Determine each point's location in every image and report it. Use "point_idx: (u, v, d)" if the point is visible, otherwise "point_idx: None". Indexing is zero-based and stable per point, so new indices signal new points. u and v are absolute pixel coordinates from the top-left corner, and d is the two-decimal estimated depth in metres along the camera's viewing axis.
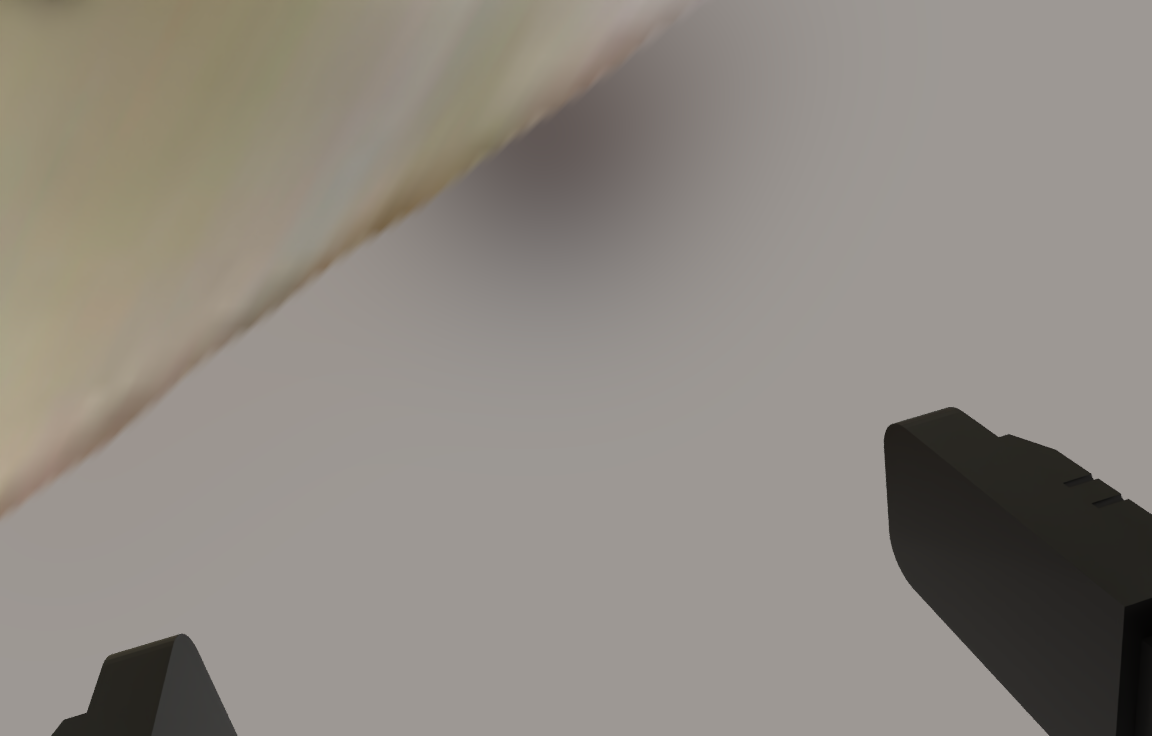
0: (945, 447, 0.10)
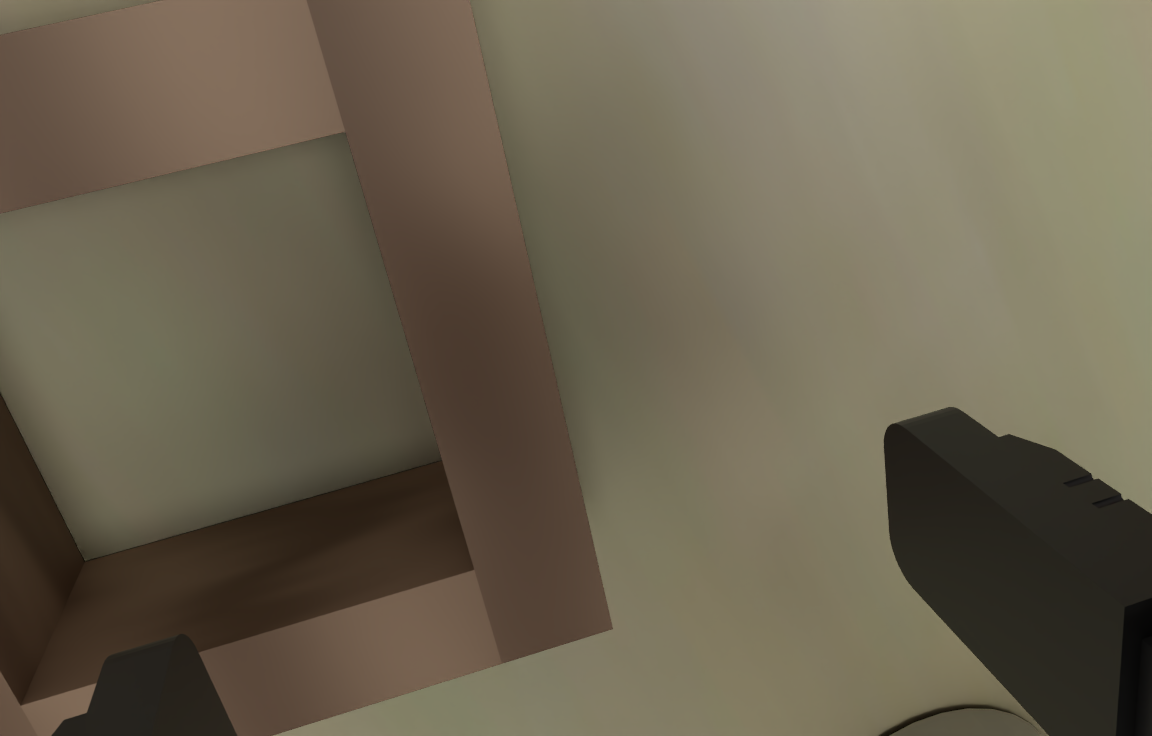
0: (945, 447, 0.10)
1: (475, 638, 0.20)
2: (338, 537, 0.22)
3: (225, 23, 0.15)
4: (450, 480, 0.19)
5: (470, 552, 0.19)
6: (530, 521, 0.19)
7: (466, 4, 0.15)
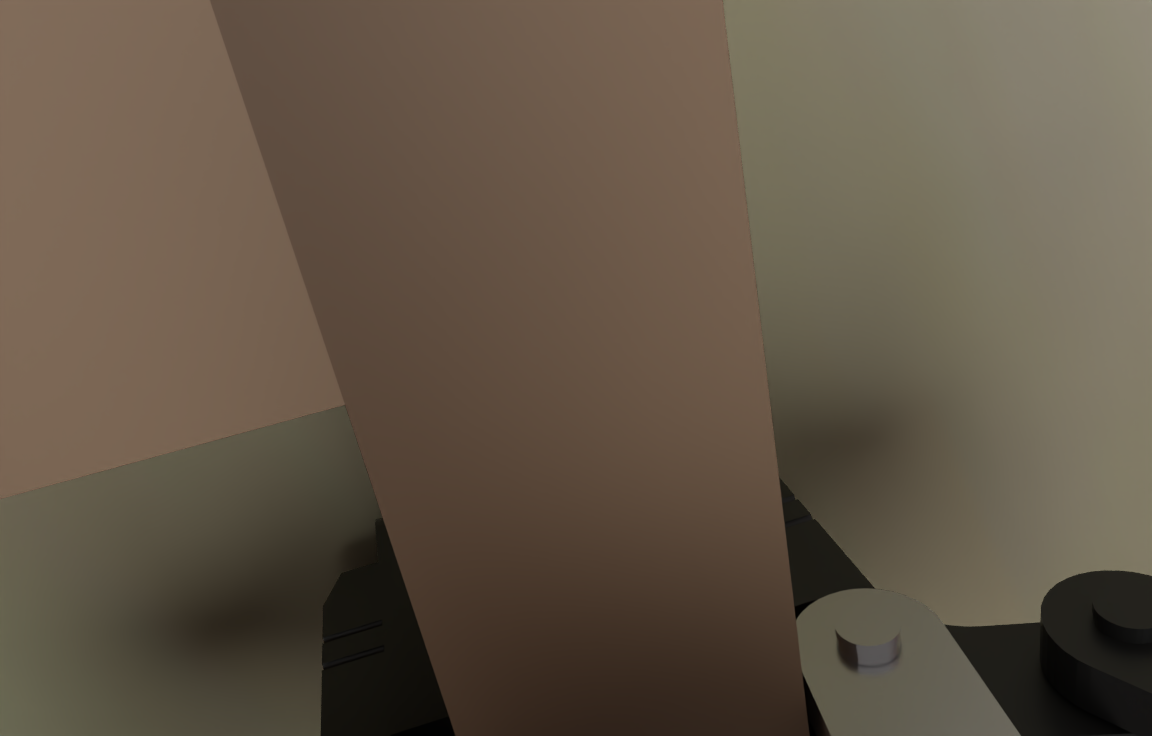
0: None
1: None
2: None
3: None
4: None
5: None
6: None
7: (713, 34, 0.05)
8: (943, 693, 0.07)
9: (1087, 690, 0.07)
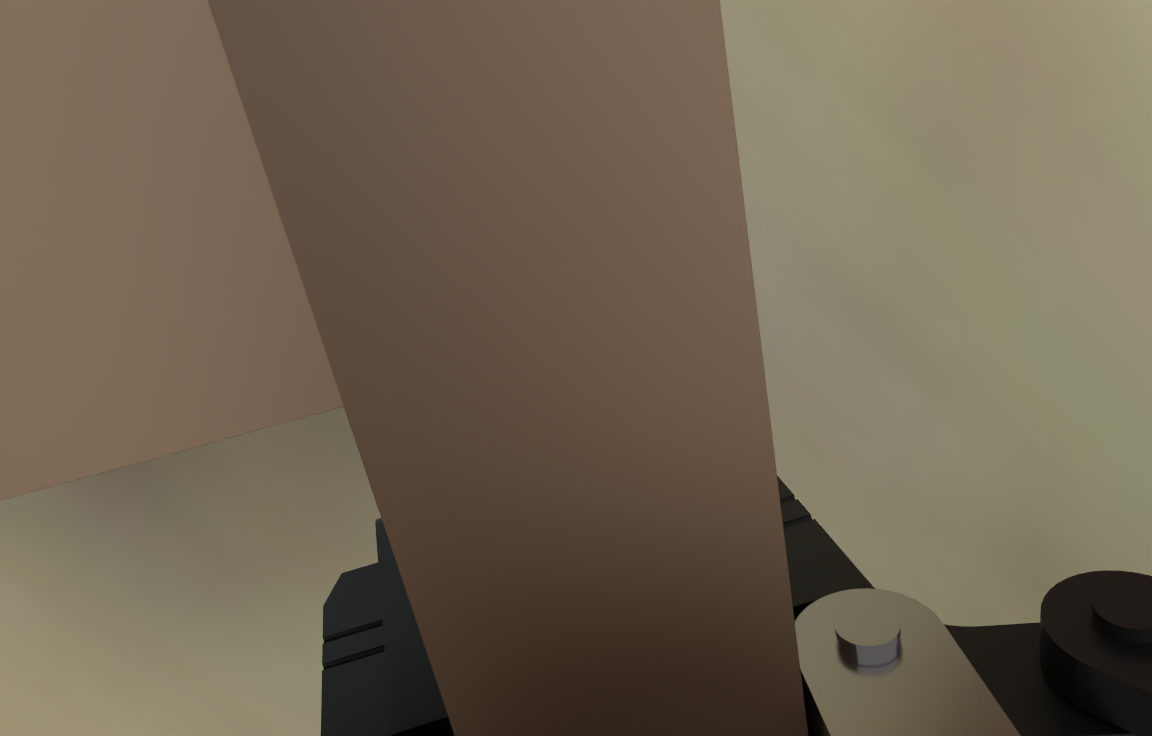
0: None
1: None
2: None
3: None
4: None
5: None
6: None
7: (710, 37, 0.05)
8: (942, 693, 0.07)
9: (1087, 690, 0.07)
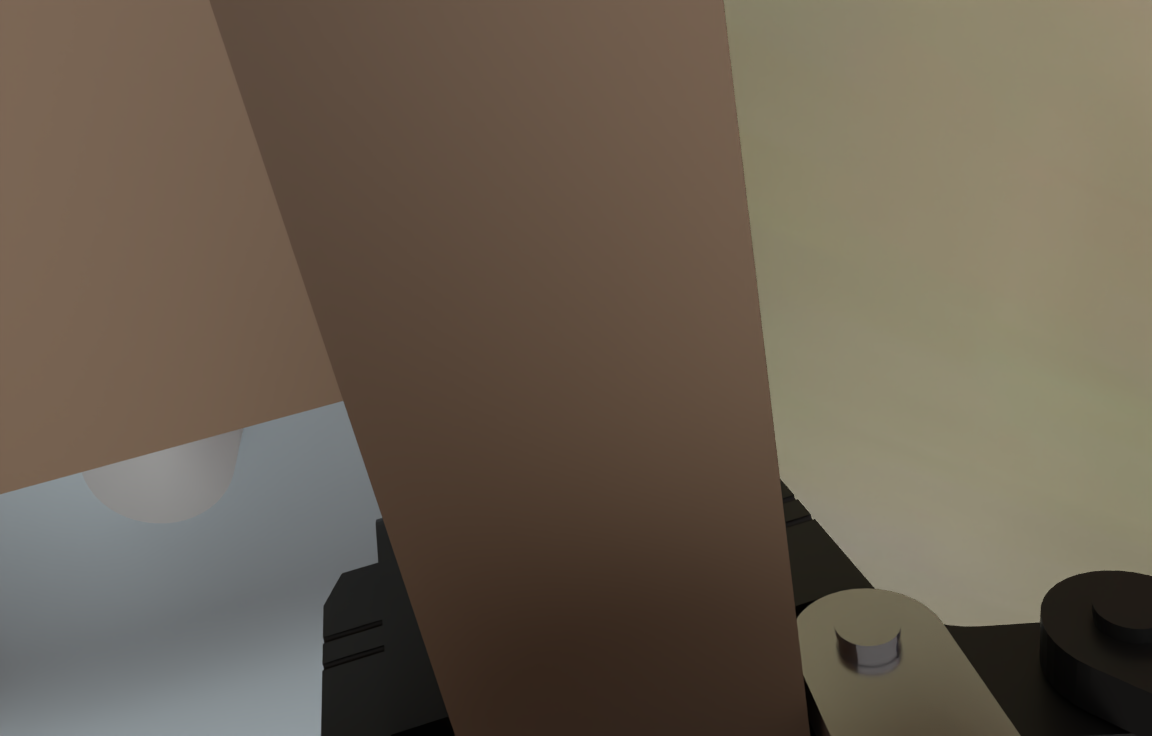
0: None
1: None
2: None
3: None
4: None
5: None
6: None
7: (713, 28, 0.05)
8: (943, 693, 0.07)
9: (1088, 690, 0.07)
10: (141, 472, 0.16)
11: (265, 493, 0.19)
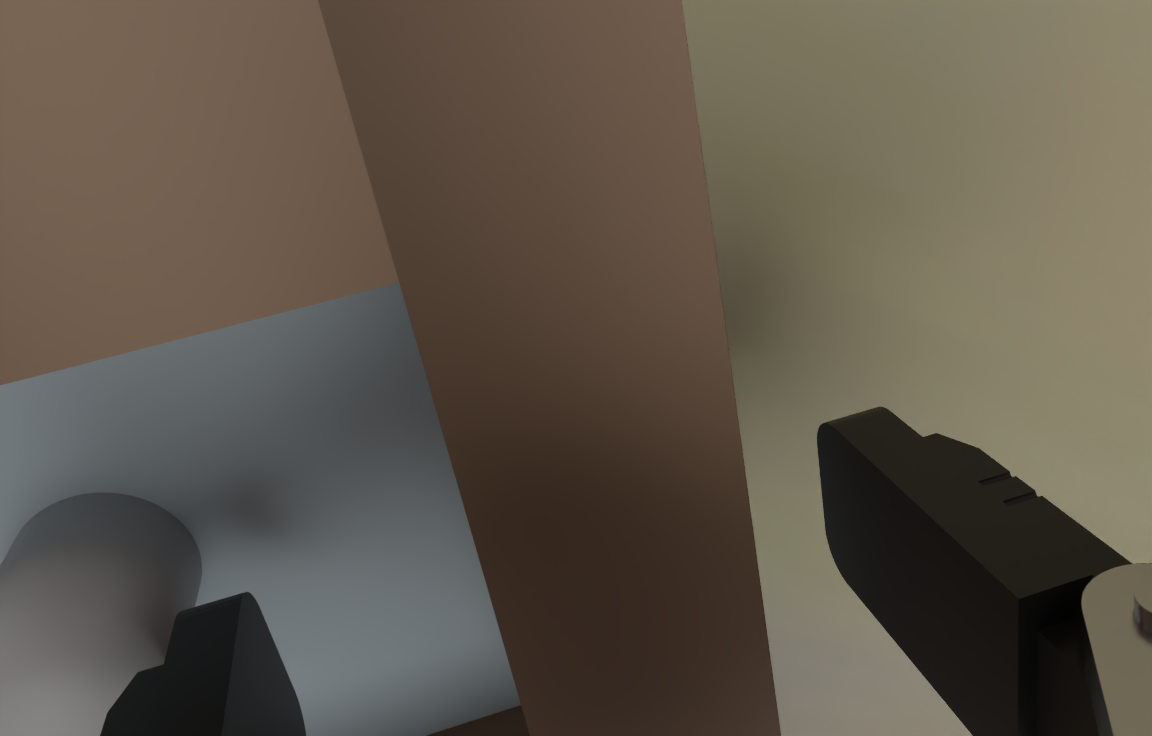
0: (869, 446, 0.10)
1: None
2: None
3: (123, 49, 0.06)
4: None
5: None
6: None
7: (672, 5, 0.07)
8: None
9: None
10: (35, 713, 0.11)
11: None
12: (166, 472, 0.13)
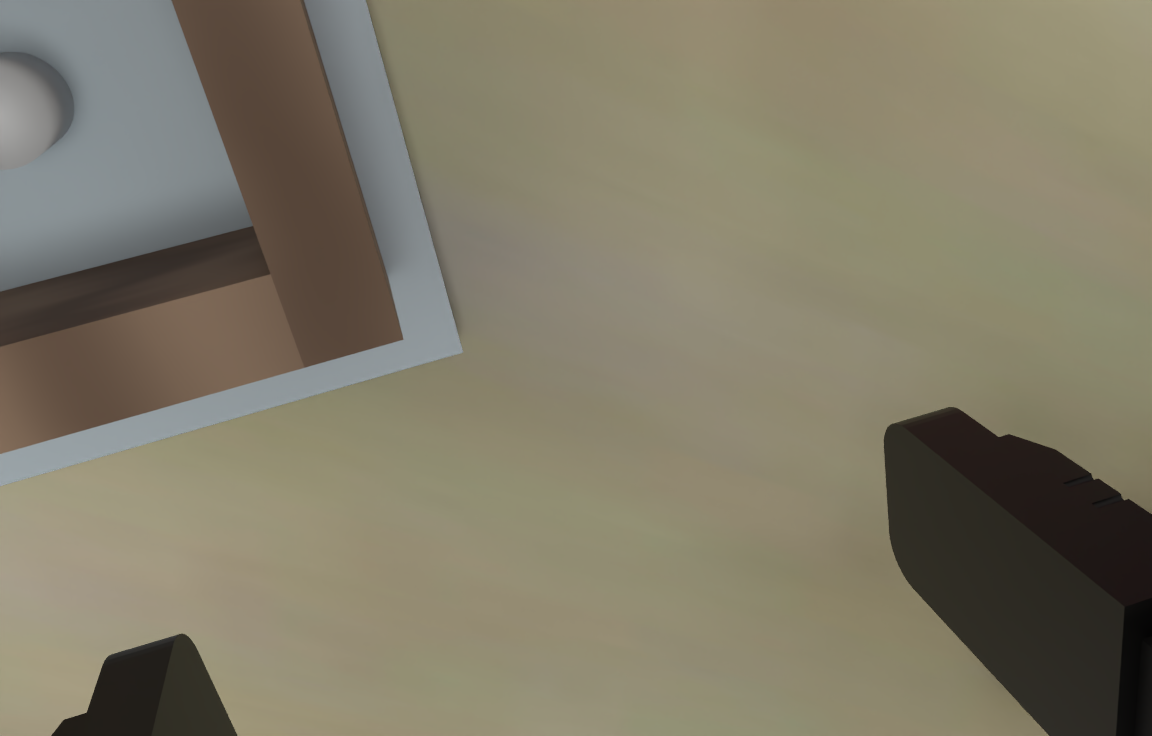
0: (945, 447, 0.10)
1: (277, 341, 0.23)
2: (163, 270, 0.24)
3: None
4: (240, 185, 0.21)
5: (265, 256, 0.22)
6: (317, 229, 0.22)
7: None
8: None
9: None
10: None
11: (94, 185, 0.25)
12: (50, 42, 0.24)
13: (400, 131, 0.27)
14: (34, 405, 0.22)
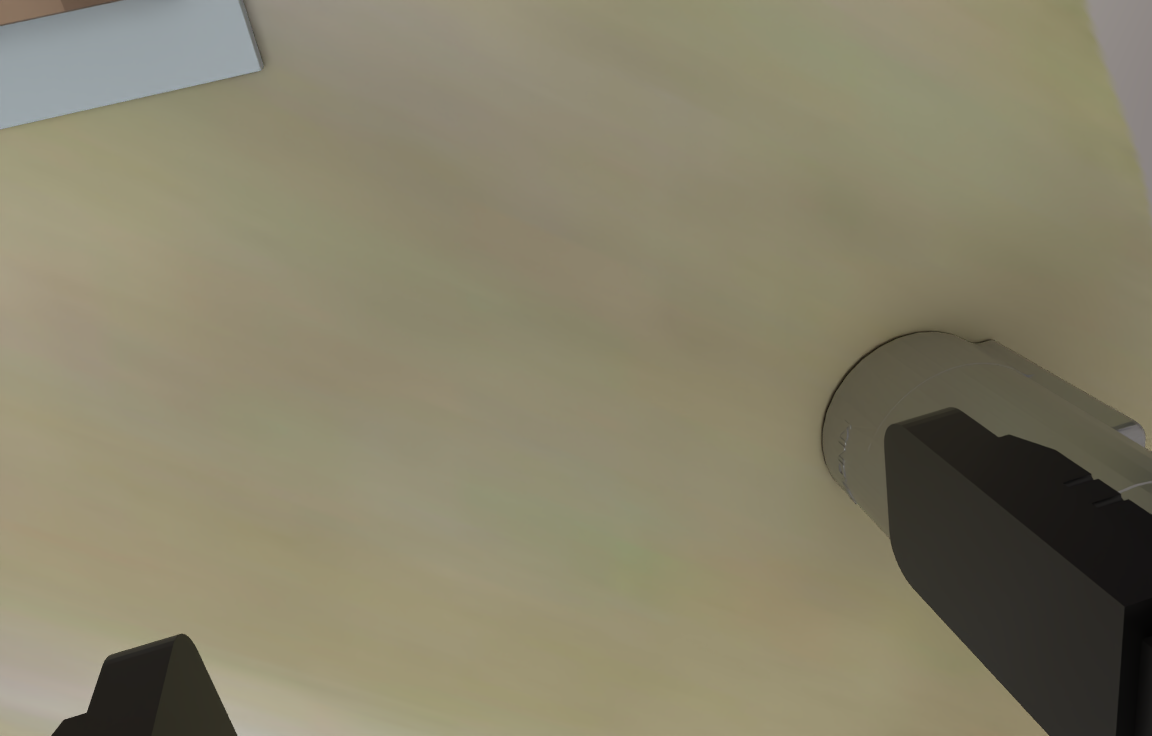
0: (945, 448, 0.10)
1: None
2: None
3: None
4: None
5: None
6: None
7: None
8: None
9: None
10: None
11: None
12: None
13: None
14: None
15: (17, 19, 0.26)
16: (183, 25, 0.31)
